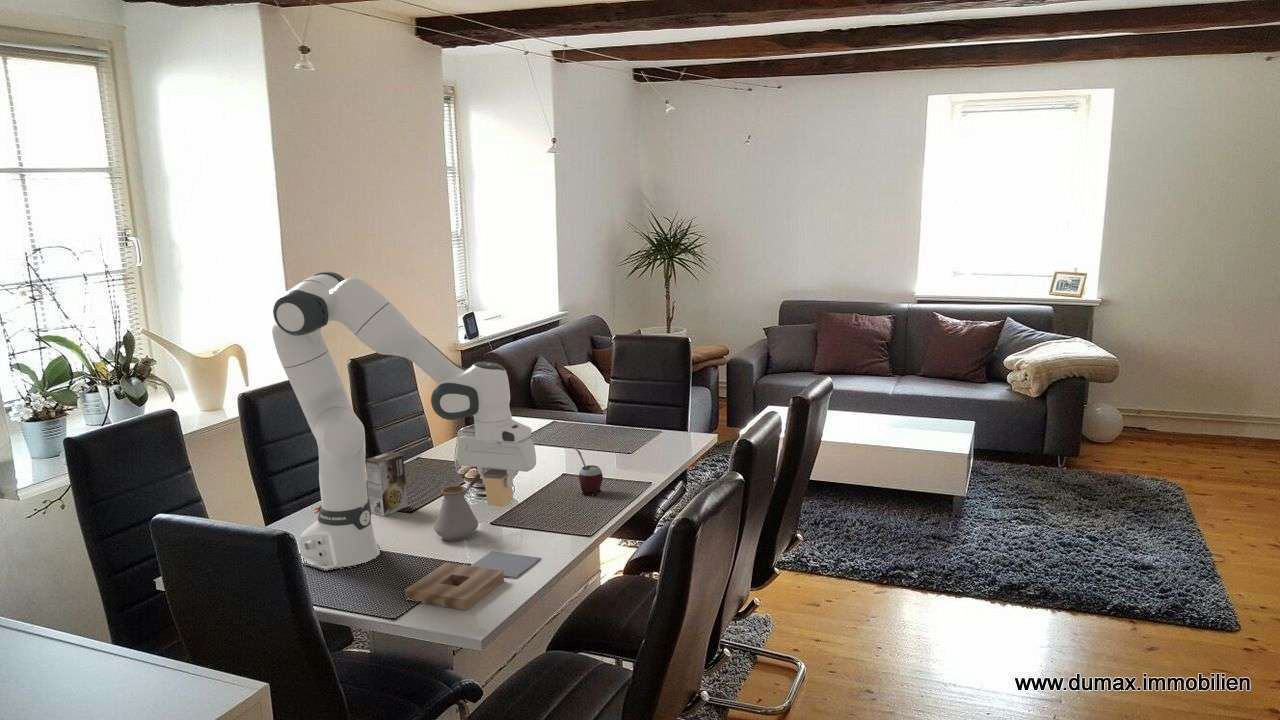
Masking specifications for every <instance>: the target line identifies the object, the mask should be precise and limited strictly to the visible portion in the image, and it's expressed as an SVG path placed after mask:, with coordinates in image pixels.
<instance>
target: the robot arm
mask: <svg viewBox="0 0 1280 720" xmlns="http://www.w3.org/2000/svg"><path fill="white" fill-rule="evenodd" d="M272 308H273V310H272V314H273V319H274V322H275V323H274V324H273V326H272V330H271V334H272V338H273V342H274V347H275V349H276V353H277V355H278V358H279V361H280V363H281V366H282V369H283V371H284V372H285V374H286V377H287V379H288V382H289V383H290V386H291V387H292V390H293V392H294V394H295V396H296V399H297V401H298V404H299V405H300V408H301V410H302V412H303V415H304V417H305V419H306V422H307V424H308V426H309V428H310V430H311V432H312V433H311V434H312V435H313V436H314V439H315V440H316V443H317V451H318V481H319V490H320V491H319V492H320V500H321V505H319V507H317V508H315V509H313V514H318V516H317V519H316V521H314V522H313V523H312V524H311V525H309V526H308V527H307V528H306V529H305V530H304V531H303V532H302V533H301V534H300V537H299V540H298V549H299V550H300V554H301V558H302V562H303V564H304V561H305V562H306V561H307V563H309V564H311V565H315V566H318V567H321V568H324V569H329V568H334V567H342V566H350V565H356V564H360V563H364V562H368V561H370V560H372V559H374V558H375V559H377V558H378V557H379V556H380V554H381V551H380V549H379V546H378V543H377V540H376V536H375V532H374V528H373V524H372V521H371V520H372V513H371V505H370V501H369V494H368V484H367V473H366V463H365V460H366V433H365V432H366V431H365V426H364V424H363V422H362V421H361V420H360V418H359V417H358V416H357V414H356V413H355V411H354V409H353V407H352V405H351V402H350V400H349V398H348V395H347V392H346V389H345V387H344V384H343V381H342V378H341V375H340V373H339V370H338V368H337V367H336V364H335V362H334V360H333V357H332V355H331V353H330V351H329V349H328V346H327V345H326V342H325V340H324V337H323V334H322V329H323V327H325V326H327V325H328V324H329V323H330V322H339V323H341V324H343V326H345V327H346V328H347V329H348V330H349V331H350V332H351V333H352V334H353V335H354V336H355V338H357V339H358V340H359V341H360V342H361V343H362V344H364V345H365V346H366V347H368V348H369V349H370V350H372V351H373V352H375V353H377V354H379V355H384V356H385V355H386V356H398V357H402V358H405V359H407V360H409V361H411V362H412V363H413V364H415V365H416V366H417V367H418V368H419V369H421V370H422V371H423V373H424V374H427V376H429V377H430V378H431V379H432V380H433V381H434V382H435V383H436V384H437V386H435V388H434V389H433V391H432V393H431V396H430V403H431V407H432V409H433V411H434V412H435V414H436V415H437V416H439V418H441V419H444V420H448V421H455V420H459V419H464V418H465V419H466V418H469V417H473V423H474V427H465V426H464V427H462V428H461V429H460V428H459V430H458V431H457V433H456V435H457V448H456V449H457V450H456V459H457V463H458V464H459V465H460V466H462V467H463V466H464V467H473V468H476V469H477V472H478V473H479V474H480V476H481V477H480V478H481V479H482V485H483V486H485V481H484V473H486V472H487V470H488V469H489V468H490V469H492V468H493V469H503V470H507V474H509V476H508V478H507V479H505V480H504V487H512V488H513V485H514V478H515V476H516V473H518V472H524V473H525V472H526V473H527V472H531V471H532V470H533V469H535V467H536V465H537V455H536V447H535V443H534V441H533V439H532V438H531V437H530V436H532V433H533V431H532V428H531V427H530V426H528V425H525V424H523V423H520V422H518V421H517V420H515V419H513V418H512V417H513V416H512V412H511V410H510V402H511V391H510V390H511V389H510V381H509V376H508V373H507V370H506V368H505V367H504V366H502V365H501V364H499V363H498V362H492V361H478V362H474V363H473V364H471V366H470V367H468V368H466V367H463V366H461V365H458V364H457V363H456V362H455V361H453V360H452V359H450V358H449V357H448V356H447V355H446V354H445V353H444V352H442V351H441V350H440V349H439V348H438V347H437V346H435V344H433V343H432V342H431V341H430V340H429V339H428V338H426V337H425V336H424V335H422V334H421V333H420V331H418V329H417V328H416V327H415V326H414V325H412V323H410V321H409V320H408V319H407V318H406V317H405V316H404V315H403V314H402V312H400V311H399V310H398V308H396V306H394V304H392V303H391V301H390V300H389V299H387V298H386V297H385V295H383V294H382V293H380V292H379V290H377V289H376V288H374V287H373V286H372V285H370V284H368V282H365V281H364V280H363V279H361V278H358V277H347V278H346V279H345V278H344V277H343V276H342V274H339V273H337V272H334V271H323V272H318V273H316V274H313V275H312V276H310V277H308V278H305V279H303V280H301V281H300V282H298V283H297V284H296V285H295V286H293V287H291V288H290V289H289V290H287V291H285V292H283V293H282V294H281V295H280V296H279V297H278V298H277V299H276V301H275V303H274V305H273V307H272ZM478 473H477V474H478ZM378 555H379V556H378ZM377 556H378V557H377ZM376 557H377V558H376ZM303 558H304V561H303ZM375 559H374V560H375ZM372 561H373V560H372ZM370 562H371V561H370ZM368 563H369V562H368ZM324 565H327V566H324Z"/></svg>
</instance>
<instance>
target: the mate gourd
mask: <svg viewBox="0 0 1280 720" xmlns="http://www.w3.org/2000/svg"><path fill="white" fill-rule="evenodd" d="M570 447H571V448H573V449H574V450H575V451H576V452H577V454H578V456H579V458H580V460H581V462H582V465H583V466H582V467H581V469H580V470H579V473H578V480H579V484H580V488H581V492H582V494H581V496H582V495H586V496H588V495H587V494H590V495H591V494H593V495H594V497H595V496H596V497H598V496H597V495H598V493H597V492H599V493H602V490H601V487H602V484H603V479H604V475H603V472H602V470H601V469H602V468H601V467H600V466H597V465H593V464H591V465H586V463H585V461H584V458H583V455H582V453H581V451H580V450H579V449H578V448H577V447H575V446H574V445H572V444H570ZM593 495H592V496H593Z"/></svg>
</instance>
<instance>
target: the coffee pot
mask: <svg viewBox="0 0 1280 720" xmlns="http://www.w3.org/2000/svg"><path fill="white" fill-rule="evenodd" d="M490 469H491V468H488V470H490ZM480 478H482V477H481V476H480V474H479V473H477V474H476V475H475V476H474V478H473V479H472V480H471V481H470V483H469V485H467V487H465V486H462V485H451V486H446V487H444V488H441V491H440V493H441V494H442V496H443V501H442V503H441V506H440V509H439V512H438V515H437V517H436V520H435V523H434V532H435V533H436V534H437V535H438V536H439V537H441V538H442V539H443V540H445V541H448V542H449V541H450V542H456V541H462V540H463V541H464V540H467V539H468V538H470V537H471V536H472V534H474V533H475V531H476V530H477V529H478V525H479V521H478V519H477V518H476V516H475V513H474V512H473V511H472V509H471V507H470V505H469V503H468V502H467V501H468V500H467V499H466V498H465V496H466V494H467V493H468V492H469V490H470V489H471V488H472V487H473V486H474V485H475V484H476V483H477V482H478V481H479V480H480Z"/></svg>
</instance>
